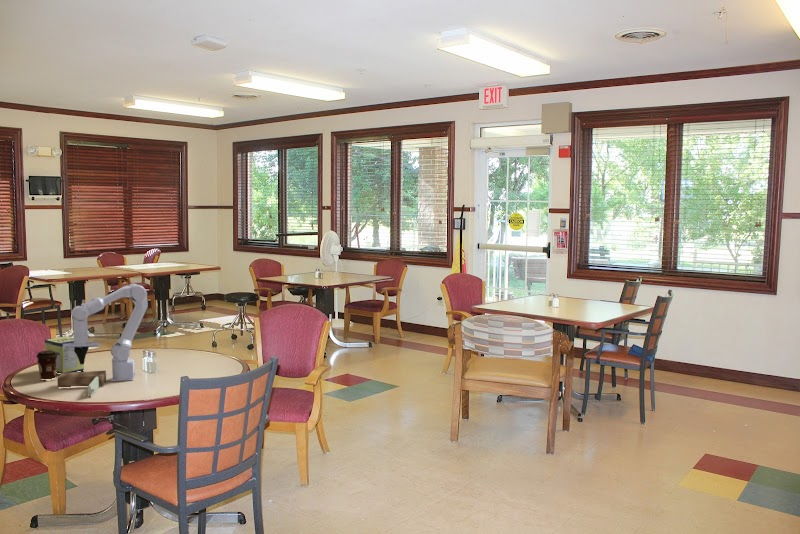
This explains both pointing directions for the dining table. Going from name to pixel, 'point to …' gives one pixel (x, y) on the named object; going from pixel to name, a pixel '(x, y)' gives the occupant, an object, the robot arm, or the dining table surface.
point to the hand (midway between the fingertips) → (82, 363)
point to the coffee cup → (47, 364)
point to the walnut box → (81, 378)
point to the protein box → (64, 355)
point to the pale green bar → (93, 386)
